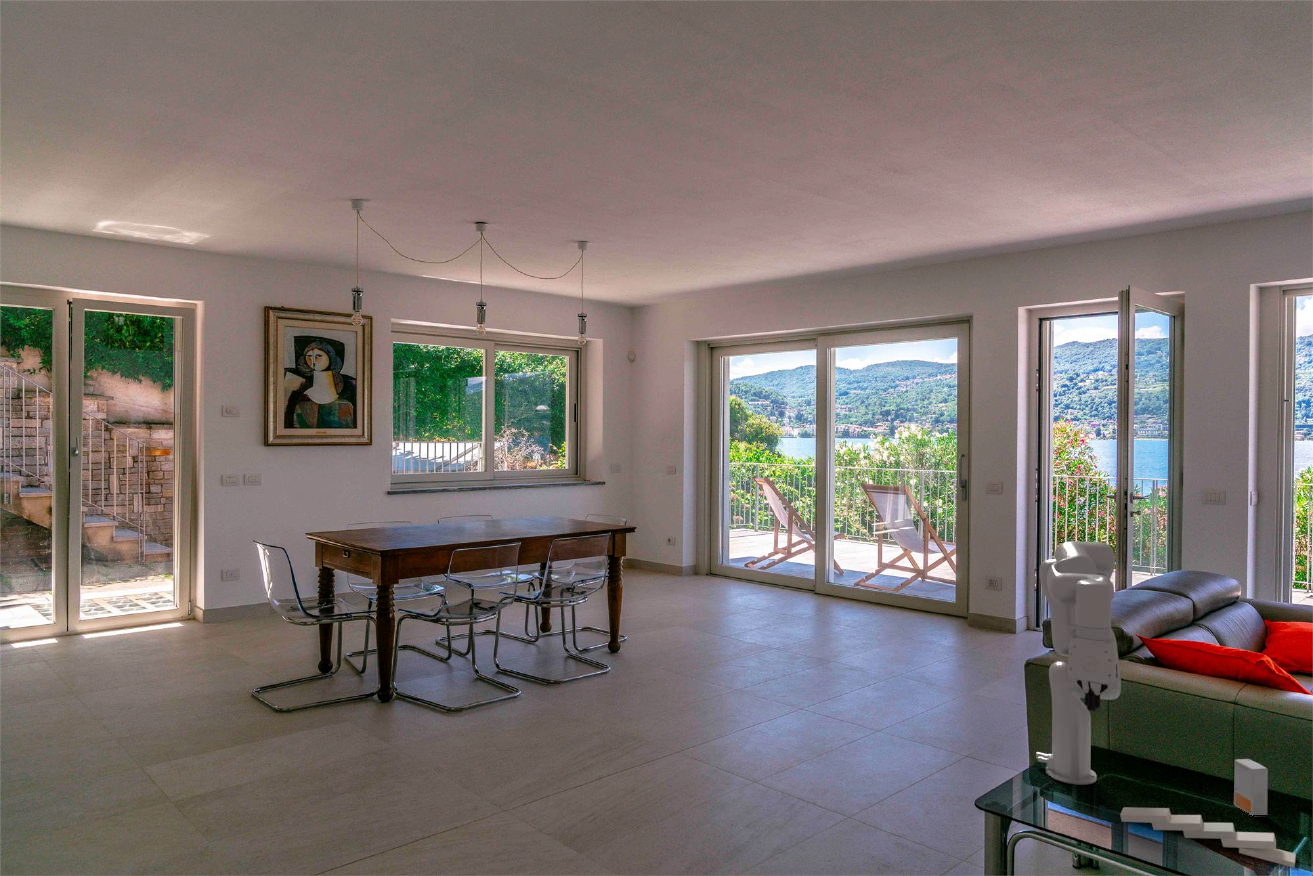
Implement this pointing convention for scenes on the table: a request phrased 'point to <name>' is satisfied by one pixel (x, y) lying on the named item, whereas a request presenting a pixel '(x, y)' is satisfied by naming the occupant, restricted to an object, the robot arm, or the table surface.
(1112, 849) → the table surface
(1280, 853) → the domino
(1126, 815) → the domino
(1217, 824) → the domino
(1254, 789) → the skincare box
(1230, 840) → the domino
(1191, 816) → the domino
